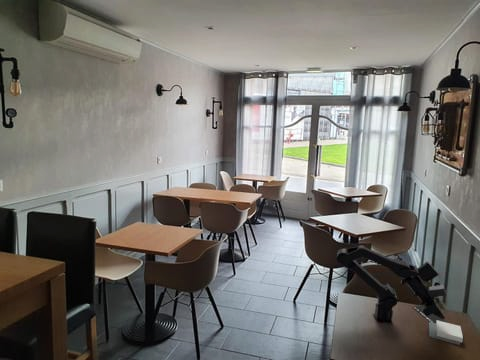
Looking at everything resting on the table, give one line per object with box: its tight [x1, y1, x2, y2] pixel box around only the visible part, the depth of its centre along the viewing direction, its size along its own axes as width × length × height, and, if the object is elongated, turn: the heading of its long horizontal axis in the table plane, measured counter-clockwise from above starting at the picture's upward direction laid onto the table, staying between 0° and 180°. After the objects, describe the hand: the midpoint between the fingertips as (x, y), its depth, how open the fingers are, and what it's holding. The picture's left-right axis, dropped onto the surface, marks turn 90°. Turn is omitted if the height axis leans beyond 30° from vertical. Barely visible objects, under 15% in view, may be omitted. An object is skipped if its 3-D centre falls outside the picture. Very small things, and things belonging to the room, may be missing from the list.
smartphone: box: [412, 304, 448, 323], centre depth 164 cm, size 7×1×16 cm
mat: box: [428, 321, 461, 346], centre depth 149 cm, size 11×12×1 cm
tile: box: [436, 320, 464, 343], centre depth 148 cm, size 2×10×9 cm
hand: (444, 318), depth 148 cm, fingers closed
